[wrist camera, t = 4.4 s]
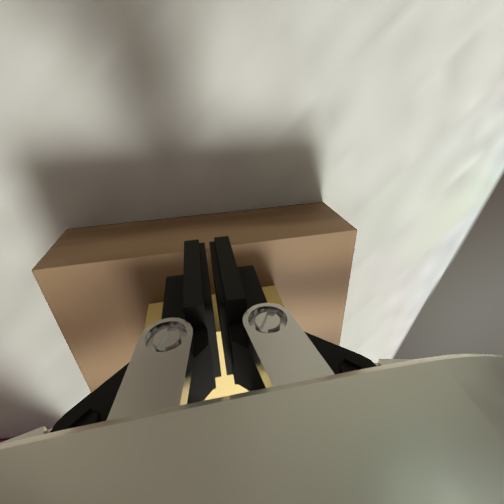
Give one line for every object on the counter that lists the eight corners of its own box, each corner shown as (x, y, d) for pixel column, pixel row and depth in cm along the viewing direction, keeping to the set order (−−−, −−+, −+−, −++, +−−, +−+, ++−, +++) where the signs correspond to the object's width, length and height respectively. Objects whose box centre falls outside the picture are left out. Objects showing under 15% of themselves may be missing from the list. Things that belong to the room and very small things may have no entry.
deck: (67, 229, 15) (31, 270, 12) (322, 201, 17) (357, 229, 14) (143, 428, 24) (136, 485, 20) (306, 394, 26) (324, 440, 22)
